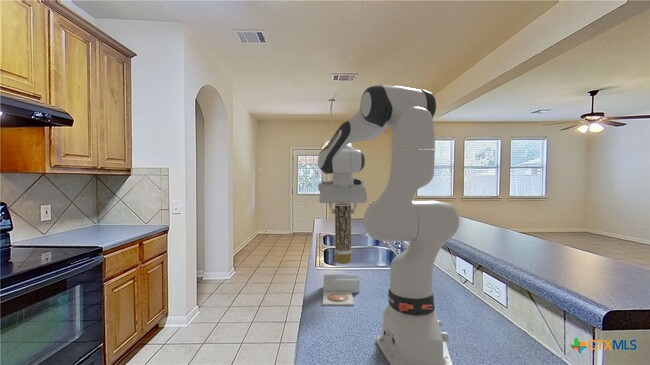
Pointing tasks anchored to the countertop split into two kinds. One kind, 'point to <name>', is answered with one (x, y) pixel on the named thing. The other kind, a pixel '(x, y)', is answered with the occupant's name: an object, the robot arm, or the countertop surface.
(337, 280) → the low walls
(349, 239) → the wooden log
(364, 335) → the countertop surface
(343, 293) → the resting pad
